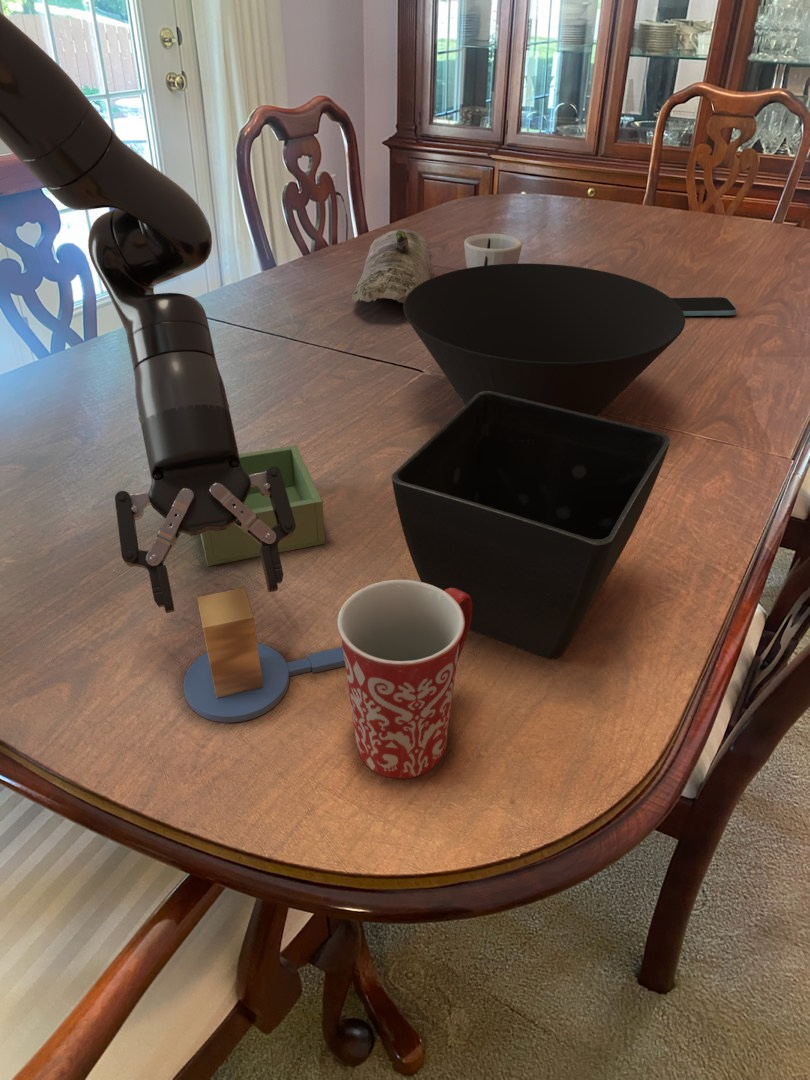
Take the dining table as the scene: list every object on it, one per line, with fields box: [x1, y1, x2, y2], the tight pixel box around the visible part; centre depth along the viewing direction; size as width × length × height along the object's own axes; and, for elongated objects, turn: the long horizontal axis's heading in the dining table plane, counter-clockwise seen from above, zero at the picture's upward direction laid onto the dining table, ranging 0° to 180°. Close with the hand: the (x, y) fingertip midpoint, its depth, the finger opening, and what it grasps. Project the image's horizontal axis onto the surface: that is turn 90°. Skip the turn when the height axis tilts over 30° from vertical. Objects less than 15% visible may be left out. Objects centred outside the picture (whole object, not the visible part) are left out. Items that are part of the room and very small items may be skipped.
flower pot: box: [391, 391, 672, 660], centre depth 75 cm, size 19×19×17 cm
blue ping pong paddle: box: [183, 642, 345, 724], centre depth 72 cm, size 18×9×1 cm, turn 109°
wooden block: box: [196, 587, 263, 698], centre depth 68 cm, size 4×4×8 cm
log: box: [351, 228, 432, 304], centre depth 148 cm, size 14×12×30 cm
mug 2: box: [463, 233, 523, 268], centre depth 150 cm, size 10×15×10 cm
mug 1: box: [336, 579, 472, 779], centre depth 63 cm, size 13×9×14 cm
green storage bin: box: [199, 444, 326, 567], centre depth 89 cm, size 13×13×6 cm
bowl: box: [403, 262, 686, 417], centre depth 109 cm, size 36×36×15 cm
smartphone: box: [670, 296, 738, 317], centre depth 145 cm, size 7×1×15 cm
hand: (222, 601), depth 68 cm, fingers open, 8 cm apart
